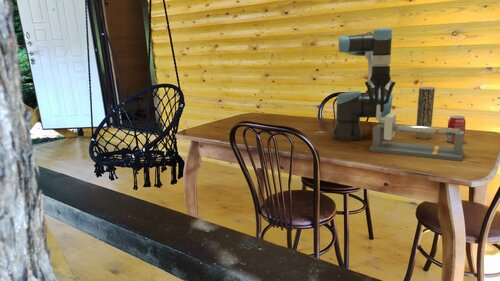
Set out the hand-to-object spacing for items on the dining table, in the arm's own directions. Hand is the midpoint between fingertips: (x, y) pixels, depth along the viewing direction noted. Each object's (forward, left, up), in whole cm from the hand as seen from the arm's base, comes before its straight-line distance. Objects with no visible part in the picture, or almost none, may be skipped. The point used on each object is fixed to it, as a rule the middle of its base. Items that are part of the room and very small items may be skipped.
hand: (378, 118), depth 162 cm
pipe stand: (+16, 0, -14) cm, 21 cm away
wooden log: (+16, +27, -14) cm, 34 cm away
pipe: (+16, 0, -5) cm, 17 cm away
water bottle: (-8, +54, -14) cm, 57 cm away
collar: (+5, 0, -8) cm, 9 cm away
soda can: (+30, +24, -14) cm, 41 cm away
